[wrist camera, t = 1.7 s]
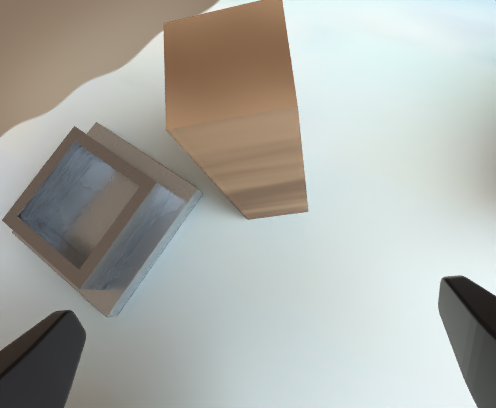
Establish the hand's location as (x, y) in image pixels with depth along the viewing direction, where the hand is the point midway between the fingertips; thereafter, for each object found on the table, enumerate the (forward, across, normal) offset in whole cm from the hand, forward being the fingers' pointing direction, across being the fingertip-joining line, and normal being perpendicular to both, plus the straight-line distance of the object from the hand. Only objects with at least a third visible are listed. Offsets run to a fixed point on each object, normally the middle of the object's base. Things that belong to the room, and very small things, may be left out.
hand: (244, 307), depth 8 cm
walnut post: (+15, 0, +4) cm, 15 cm away
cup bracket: (+14, +12, +5) cm, 19 cm away
